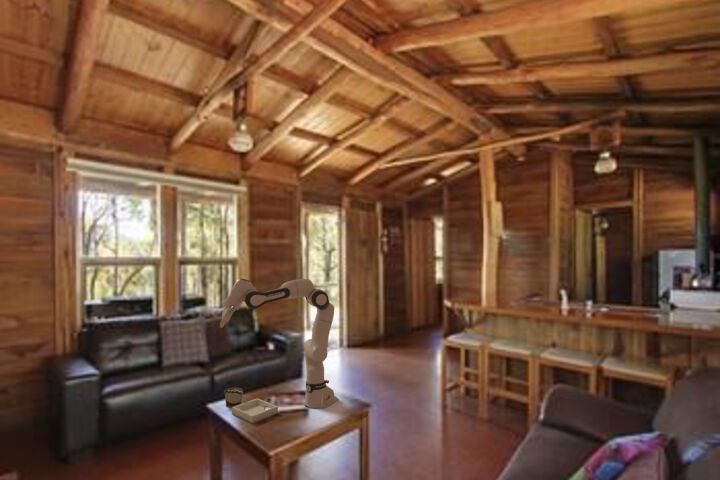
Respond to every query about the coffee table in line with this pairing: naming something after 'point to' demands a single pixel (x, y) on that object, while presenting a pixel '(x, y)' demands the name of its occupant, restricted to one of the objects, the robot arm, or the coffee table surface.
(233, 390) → the food container
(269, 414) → the tray
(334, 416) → the coffee table surface
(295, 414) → the coffee table surface
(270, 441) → the coffee table surface
